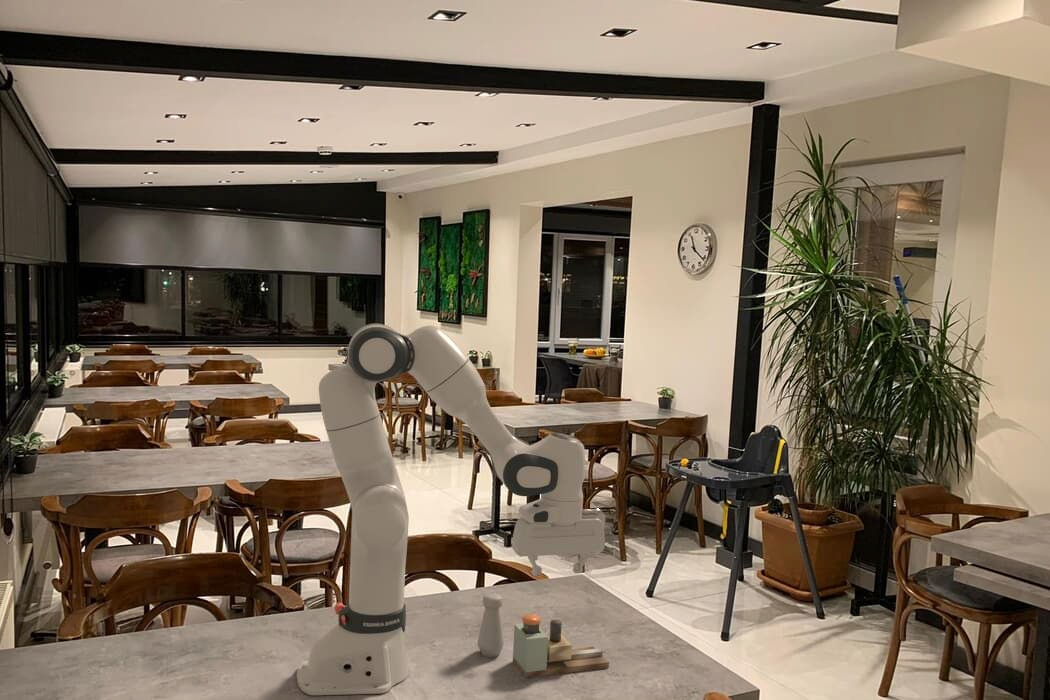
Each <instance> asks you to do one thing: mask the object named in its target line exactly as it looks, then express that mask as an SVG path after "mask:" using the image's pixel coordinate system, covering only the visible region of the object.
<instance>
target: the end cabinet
mask: <svg viewBox="0 0 1050 700" xmlns="http://www.w3.org/2000/svg"><path fill="white" fill-rule="evenodd" d="M513 629H514V630H513V649H512V651H513V652H512V654H513V655H512V657H513V656H514V658H515V659H516V660H517V662H518V663H519V664H520V665H521V667H522V668H523V669H524V671H525V672H532V671H540V670H546V669H547V648H548V636H547V634H546V633H545V632H544V631H543V630H542V628H541V627H539V633H535V634H525V632H524V631H523V622H522V623H514V626H513Z"/></svg>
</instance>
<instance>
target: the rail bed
mask: <svg viewBox="0 0 1050 700" xmlns="http://www.w3.org/2000/svg"><path fill="white" fill-rule="evenodd" d="M603 652H604V651H603V650H602V649H601V648H600V647H599V648H595V647H594V646H588V647H579V648H572V652H571V659H567V660H558V661H550V662H549V661H548V660H547V669H546V670H540V671H532V672H525V671H524V669H523V668H522V667H521V665H520V664H519V663H518V662H517V660H516V659H515V658H514V656H513V655H512V662H513V663H514V665H515V666H516V667H517V669H518V670H519V671H520V672H521V674H522V675H523V676H525V677H524V678H525V679H527V678H528V677H529V678H536V677H544V676H551V675H560V674H561V675H562V674H569V673H577V672H584V671H585V672H586V671H593V670H599V669H608V668H609V667H610V666H609V665H610V661H608V660H607V659H606V658H605V657H604V655H603V654H604V653H603ZM529 678H528V679H529Z"/></svg>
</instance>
